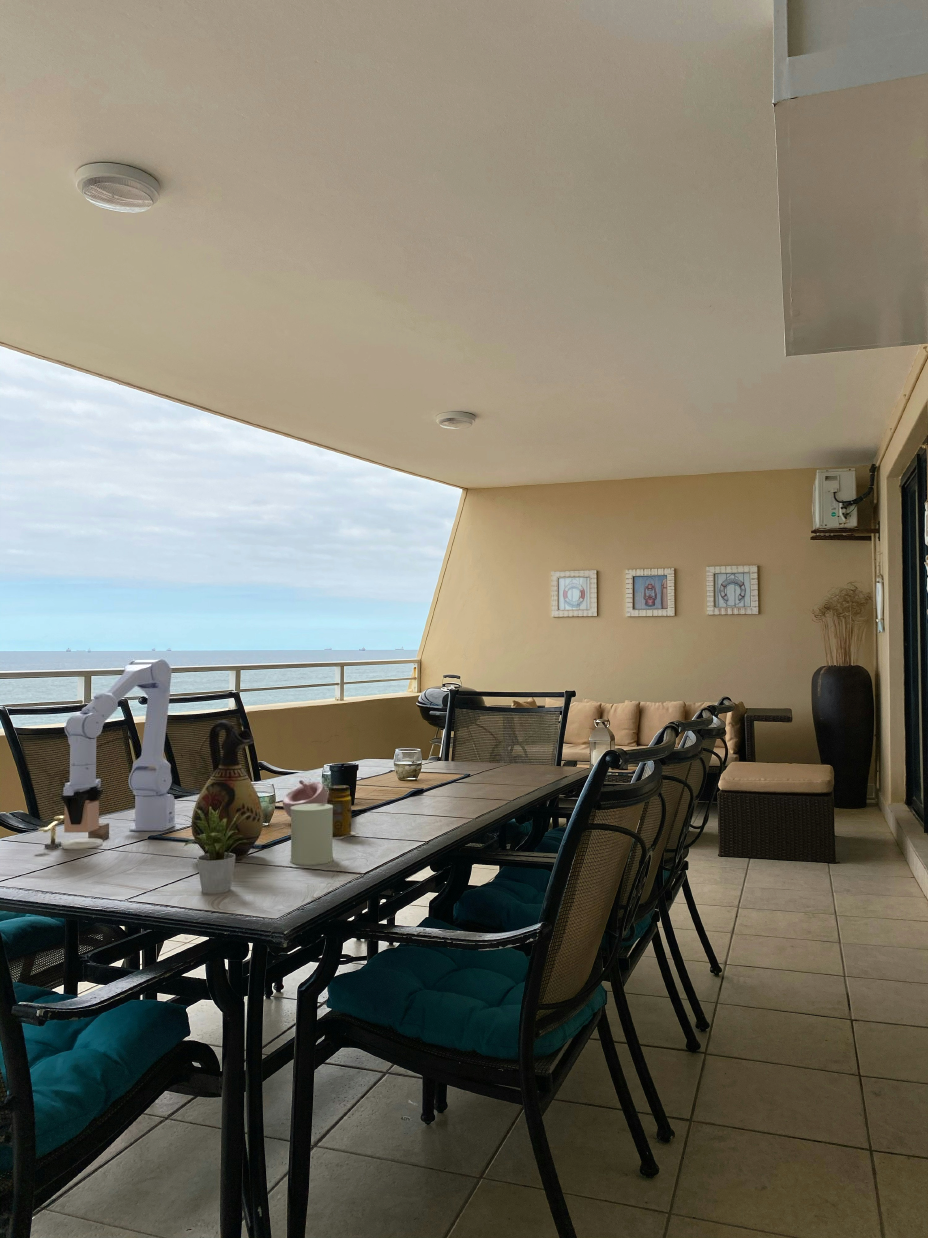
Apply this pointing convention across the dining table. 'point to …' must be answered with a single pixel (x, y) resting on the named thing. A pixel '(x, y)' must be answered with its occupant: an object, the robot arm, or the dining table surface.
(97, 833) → the block
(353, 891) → the dining table surface
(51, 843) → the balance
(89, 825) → the peach wooden cube
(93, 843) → the saucer
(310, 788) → the mortar and pestle
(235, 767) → the ceramic jug
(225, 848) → the house plant
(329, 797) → the condiment
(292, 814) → the can
